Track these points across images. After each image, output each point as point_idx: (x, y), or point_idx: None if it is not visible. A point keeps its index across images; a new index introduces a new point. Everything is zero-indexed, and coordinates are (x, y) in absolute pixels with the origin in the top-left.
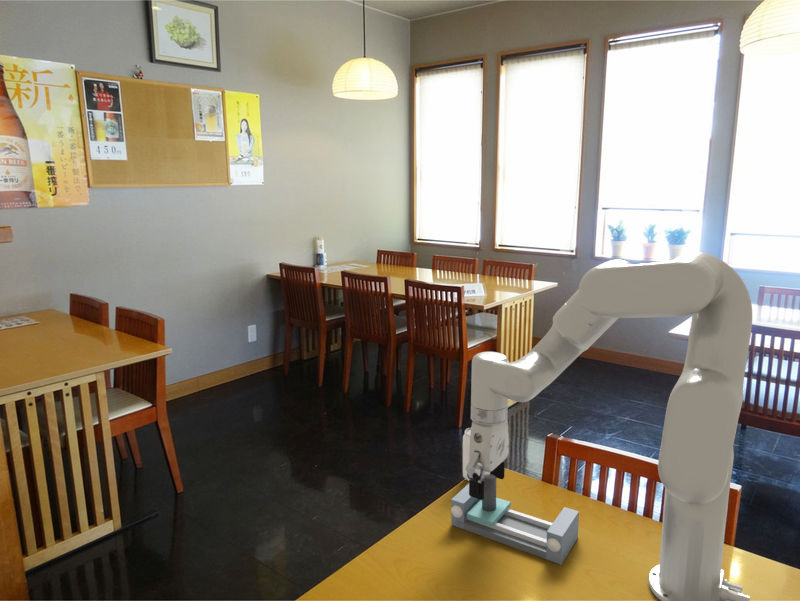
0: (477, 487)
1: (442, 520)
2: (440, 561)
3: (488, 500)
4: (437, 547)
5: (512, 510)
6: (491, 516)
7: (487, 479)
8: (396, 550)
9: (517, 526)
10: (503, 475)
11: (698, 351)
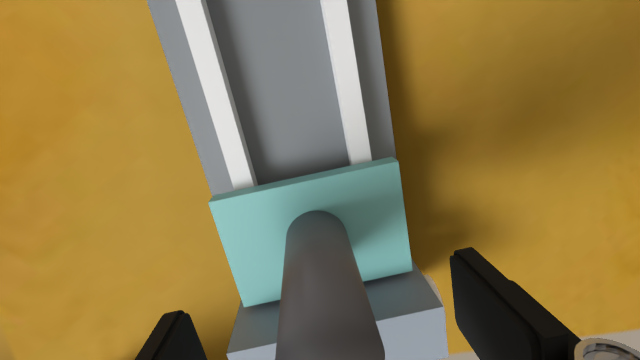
0: (561, 326)
1: None
2: (578, 186)
3: (351, 249)
4: (525, 235)
5: (232, 171)
6: (364, 191)
7: (363, 353)
8: (596, 298)
9: (288, 101)
10: (168, 327)
11: None
